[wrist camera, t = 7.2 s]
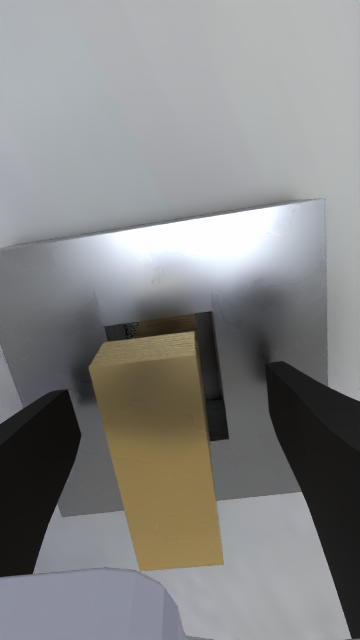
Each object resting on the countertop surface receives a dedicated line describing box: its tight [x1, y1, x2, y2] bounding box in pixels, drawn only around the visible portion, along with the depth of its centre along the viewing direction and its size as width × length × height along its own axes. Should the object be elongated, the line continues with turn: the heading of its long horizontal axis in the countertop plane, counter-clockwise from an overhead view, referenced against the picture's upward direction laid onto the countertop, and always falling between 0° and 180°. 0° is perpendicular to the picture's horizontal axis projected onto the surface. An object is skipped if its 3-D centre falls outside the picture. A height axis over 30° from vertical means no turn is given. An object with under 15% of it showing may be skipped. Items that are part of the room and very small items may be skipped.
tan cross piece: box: [89, 314, 224, 571], centre depth 12 cm, size 2×7×8 cm, turn 8°
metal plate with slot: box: [0, 199, 328, 517], centre depth 14 cm, size 12×12×3 cm
